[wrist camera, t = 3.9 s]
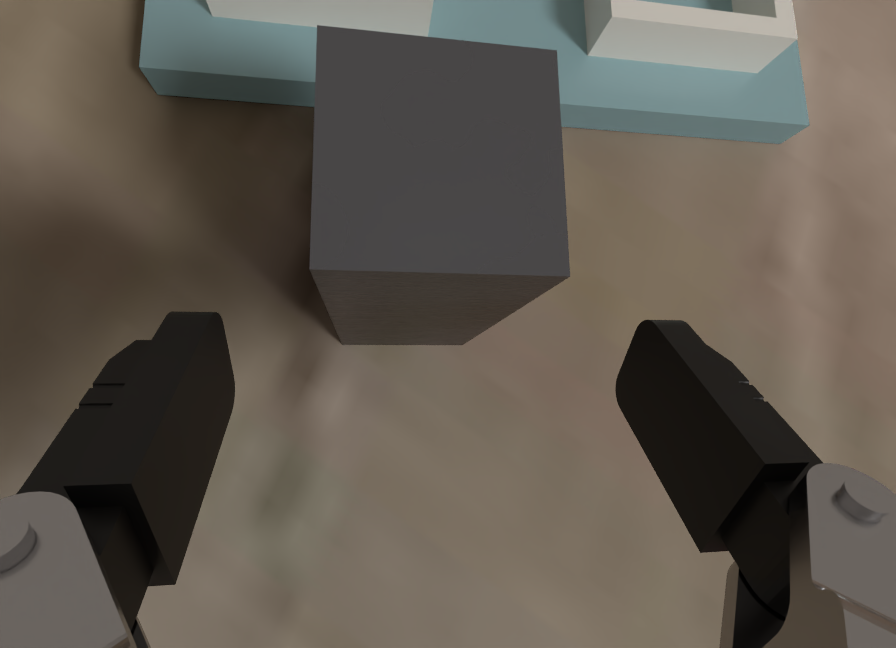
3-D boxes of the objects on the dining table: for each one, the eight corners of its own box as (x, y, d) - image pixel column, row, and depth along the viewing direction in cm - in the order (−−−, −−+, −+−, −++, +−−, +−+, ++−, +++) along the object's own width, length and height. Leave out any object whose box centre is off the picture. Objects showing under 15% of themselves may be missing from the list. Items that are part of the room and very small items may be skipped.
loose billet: (342, 344, 18) (309, 268, 8) (344, 221, 18) (317, 12, 9) (462, 345, 18) (570, 276, 9) (460, 226, 19) (556, 38, 9)
